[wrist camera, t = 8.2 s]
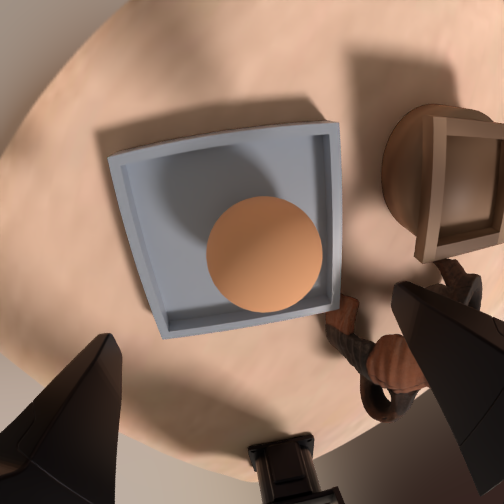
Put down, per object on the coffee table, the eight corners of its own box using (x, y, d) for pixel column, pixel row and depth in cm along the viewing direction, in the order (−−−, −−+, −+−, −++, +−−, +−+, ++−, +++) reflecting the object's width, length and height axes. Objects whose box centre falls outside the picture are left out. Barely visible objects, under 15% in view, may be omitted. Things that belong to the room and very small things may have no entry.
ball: (282, 262, 17) (344, 304, 13) (201, 295, 15) (250, 354, 11) (274, 176, 15) (347, 198, 11) (180, 202, 13) (230, 238, 9)
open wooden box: (470, 224, 18) (506, 248, 14) (378, 241, 17) (413, 274, 14) (479, 109, 14) (522, 119, 10) (379, 100, 13) (424, 104, 10)
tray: (330, 294, 18) (339, 308, 17) (164, 322, 18) (162, 339, 16) (326, 120, 14) (338, 122, 12) (116, 152, 13) (107, 157, 12)
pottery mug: (321, 243, 17) (461, 276, 11) (399, 234, 23) (495, 253, 16) (302, 412, 20) (395, 471, 13) (377, 367, 25) (453, 401, 19)
